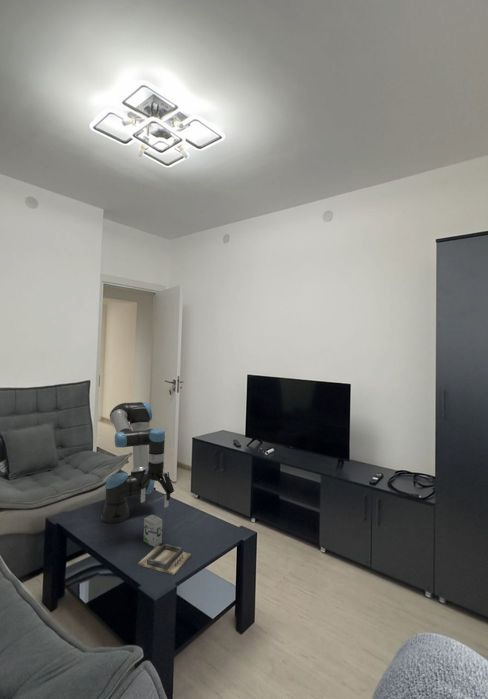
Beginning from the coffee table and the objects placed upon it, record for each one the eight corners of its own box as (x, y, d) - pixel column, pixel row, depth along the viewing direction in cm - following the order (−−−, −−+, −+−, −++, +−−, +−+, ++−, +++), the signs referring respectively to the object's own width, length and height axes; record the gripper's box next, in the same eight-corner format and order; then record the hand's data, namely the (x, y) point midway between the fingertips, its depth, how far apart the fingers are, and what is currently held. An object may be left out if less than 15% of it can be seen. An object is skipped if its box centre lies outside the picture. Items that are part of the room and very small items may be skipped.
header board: (138, 565, 153) (138, 558, 153) (157, 547, 167) (157, 541, 167) (174, 575, 147) (174, 568, 147) (190, 555, 161) (191, 549, 161)
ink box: (142, 541, 172) (143, 517, 172) (150, 537, 176) (151, 513, 176) (154, 547, 167) (155, 522, 167) (162, 543, 171) (163, 519, 171)
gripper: (130, 460, 173) (128, 502, 173) (174, 467, 165) (172, 511, 165) (139, 456, 180) (137, 496, 180) (182, 462, 172) (180, 505, 172)
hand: (154, 504), depth 172 cm, fingers open, 13 cm apart
